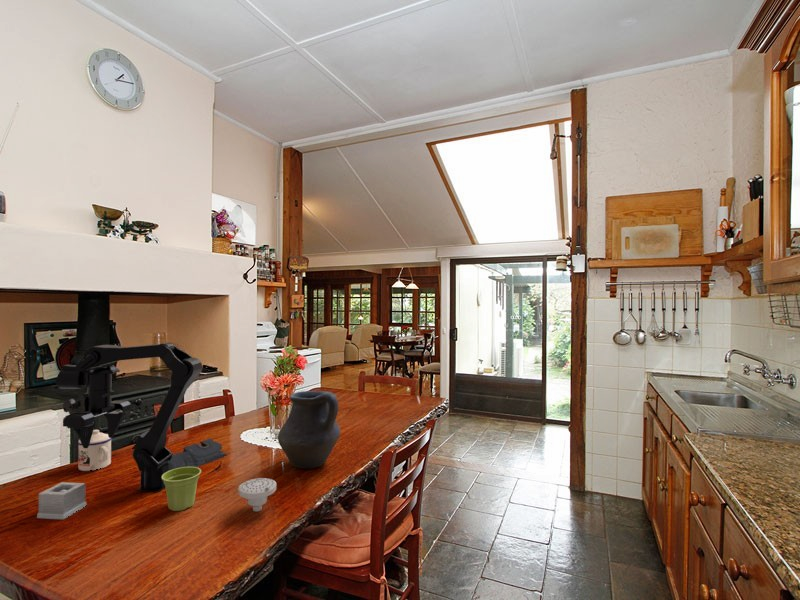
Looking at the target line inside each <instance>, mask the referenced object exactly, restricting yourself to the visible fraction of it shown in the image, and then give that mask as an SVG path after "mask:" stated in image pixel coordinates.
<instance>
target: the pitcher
mask: <svg viewBox="0 0 800 600" xmlns="http://www.w3.org/2000/svg"><path fill="white" fill-rule="evenodd" d="M289 399H290V401H291V403H292V404H291V409H290V412H289V414H288V417H287V418H286V420H285V422H284V424H283V425H282V427H281V428H280V430H279V431H278V434H277V441H278V444H279V446H280V448H281V450H282V451H283V453H284V454H285V456H286V458H287V460H288V461H289V463H290V465H292V466H293V467H294V468H299V469H304V470H308V469H309V470H310V469H311V470H312V469H315V468H320V467H322V466H323V465H324V464H325V463H326V461H327V459H328V458H329V457H330V455H331V453H332V451H333V449H334V448H335V446H336V444H337V442H338V440H339V438H340V436H341V427H340V425H339V423H337V421H336V420H337V416H338V412H339V405H340V404H339V400H338V397H337V395H336V394H335V393H333V392H330V391H325V390H324V391H323V390H322V391H321V390H320V391H319V390H305V391H304V390H303V391H298V392H294V393H293V394H291V395H290V396H289Z"/></svg>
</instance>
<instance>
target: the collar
mask: <svg viewBox="0 0 800 600" xmlns="http://www.w3.org/2000/svg"><path fill="white" fill-rule="evenodd" d="M61 490H67V491H65V492H59V491H61ZM85 502H86V482H84V483H83V482H65V481H61V482H60V483H58V484H56V485H54V486H52V487H50V488H47V489H46V490H43V491H41V492H39V493H38V513H39V514H57V515H64V514H66V513H68V512H69V511H71V510H73V509H75V508H76V507H78V506H80V505H81V504H83V503H85Z"/></svg>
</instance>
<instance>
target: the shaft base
mask: <svg viewBox="0 0 800 600" xmlns="http://www.w3.org/2000/svg"><path fill="white" fill-rule="evenodd" d="M65 491H67V490H61V491H59V492H65ZM86 505H88V503H87V501H85V503H83V504H81V505H80V506H78V507H76V508H75V509H73V510H71V511H69V512H68V513H66V514H64V515H57V514H39V512H38V513H37V515H36V518H37V519H46V520H47V519H48V520H66V519H67V518H69V517H70V516H72V515H74V514H75V513H77V512H79V511H80V510H82V509H84V508H86V507H87V506H86ZM85 506H86V507H85ZM83 507H84V508H83ZM78 510H79V511H78ZM76 511H77V512H76ZM73 513H74V514H73ZM68 516H69V517H68Z"/></svg>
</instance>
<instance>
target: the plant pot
mask: <svg viewBox="0 0 800 600" xmlns="http://www.w3.org/2000/svg"><path fill="white" fill-rule="evenodd" d="M201 473H202V469H201V468H199V467H181V468H176V469H173V470H170V471H168V472H166V473H164V474H163V475H162V480H163V481H164V485H165V488H164V489H165V492H166V500H167V506H168V507H167V508H168V510H171V511H173V512H179V511H185V510H186V509H188V508H191V507H192V506H194V505H195V501H196V492H197V485H198V480H199V478H200V475H201Z"/></svg>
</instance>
